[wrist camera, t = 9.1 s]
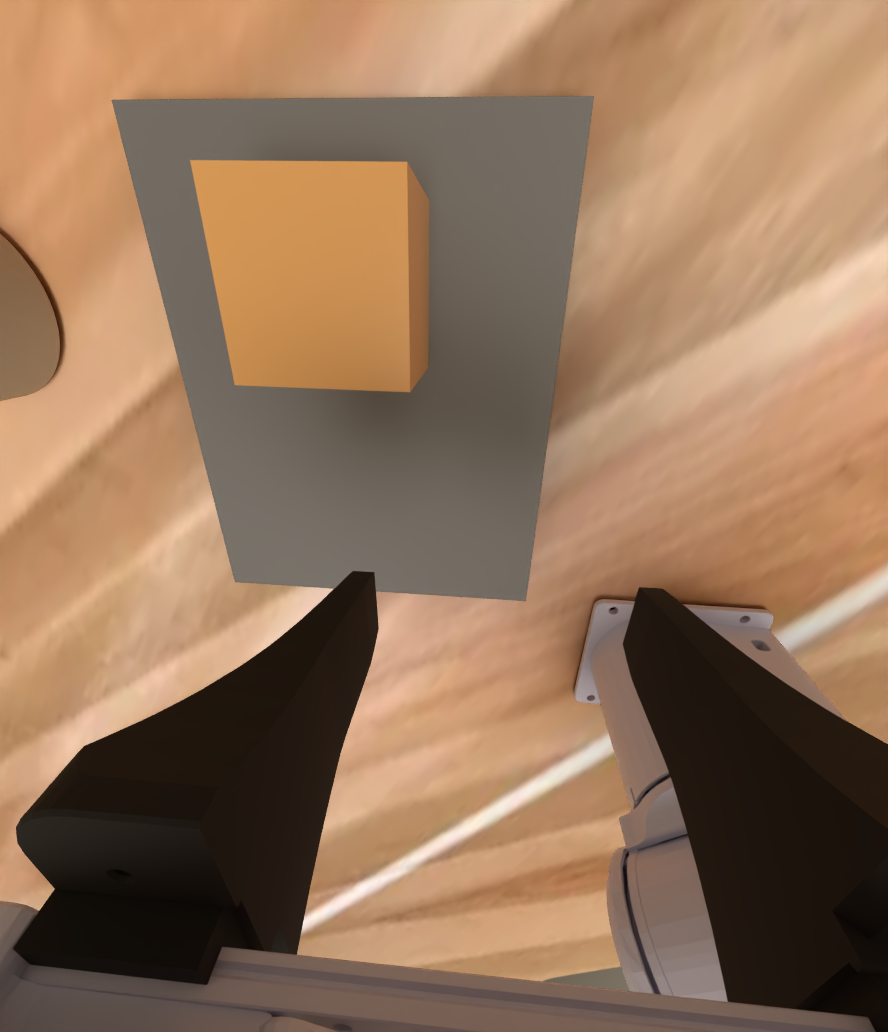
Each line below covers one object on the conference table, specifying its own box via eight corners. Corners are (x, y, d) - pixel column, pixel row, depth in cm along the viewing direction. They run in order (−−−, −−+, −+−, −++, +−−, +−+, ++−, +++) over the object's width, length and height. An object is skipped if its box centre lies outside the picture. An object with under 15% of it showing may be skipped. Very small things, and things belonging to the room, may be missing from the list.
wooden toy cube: (429, 200, 15) (407, 162, 11) (428, 367, 18) (410, 392, 13) (274, 198, 15) (189, 160, 11) (295, 362, 18) (234, 385, 14)
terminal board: (584, 113, 15) (627, 36, 10) (523, 584, 24) (532, 649, 20) (142, 116, 16) (10, 46, 11) (248, 566, 25) (197, 625, 21)
